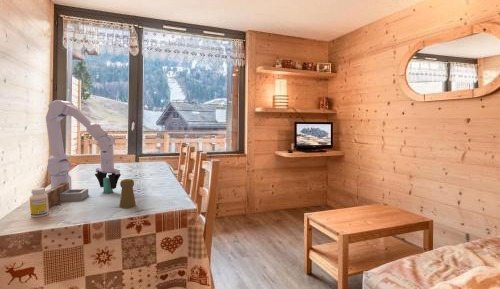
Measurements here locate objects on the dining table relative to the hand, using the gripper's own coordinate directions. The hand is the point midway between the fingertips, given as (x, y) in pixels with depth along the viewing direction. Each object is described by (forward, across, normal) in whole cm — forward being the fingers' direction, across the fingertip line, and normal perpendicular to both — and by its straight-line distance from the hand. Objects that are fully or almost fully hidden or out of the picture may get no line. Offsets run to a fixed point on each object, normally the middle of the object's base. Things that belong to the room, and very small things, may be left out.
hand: (108, 187), depth 142 cm
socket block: (+2, -4, -14) cm, 15 cm away
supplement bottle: (+2, +8, -35) cm, 36 cm away
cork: (+2, +28, -13) cm, 31 cm away
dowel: (+2, 0, 0) cm, 2 cm away
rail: (+2, -5, -22) cm, 22 cm away
